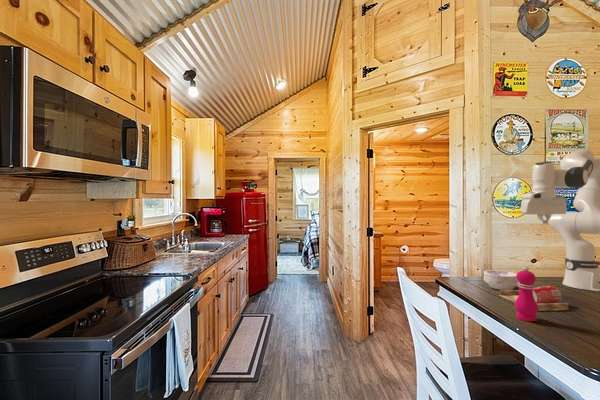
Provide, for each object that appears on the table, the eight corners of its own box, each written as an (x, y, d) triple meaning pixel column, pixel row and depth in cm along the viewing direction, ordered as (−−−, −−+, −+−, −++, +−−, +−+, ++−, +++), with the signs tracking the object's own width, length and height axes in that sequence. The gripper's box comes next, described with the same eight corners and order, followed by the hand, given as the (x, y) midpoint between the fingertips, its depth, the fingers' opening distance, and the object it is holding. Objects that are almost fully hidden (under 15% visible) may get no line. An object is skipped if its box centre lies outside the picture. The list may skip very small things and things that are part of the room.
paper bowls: (507, 284, 163) (507, 269, 163) (526, 292, 148) (525, 276, 148) (478, 283, 165) (478, 269, 165) (493, 292, 150) (493, 276, 150)
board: (529, 294, 145) (529, 289, 145) (568, 309, 125) (568, 303, 125) (499, 295, 144) (499, 290, 144) (533, 310, 124) (533, 304, 124)
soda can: (555, 283, 132) (531, 285, 130) (566, 299, 128) (541, 301, 126) (543, 289, 138) (519, 291, 135) (553, 305, 133) (529, 307, 131)
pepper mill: (510, 315, 119) (509, 265, 119) (527, 315, 120) (526, 264, 120) (525, 323, 112) (524, 269, 112) (543, 322, 113) (542, 268, 113)
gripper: (558, 195, 149) (559, 223, 149) (518, 195, 148) (518, 223, 148) (570, 194, 143) (571, 224, 142) (528, 195, 142) (529, 224, 142)
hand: (544, 223), depth 145 cm, fingers closed
